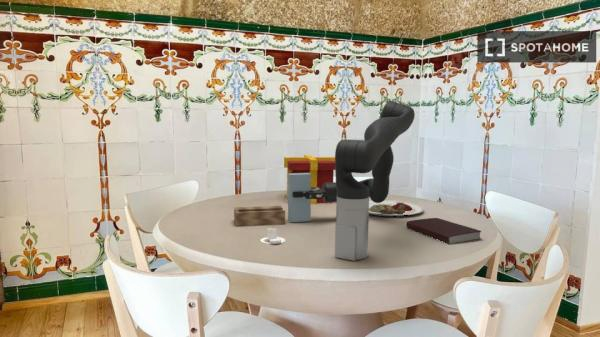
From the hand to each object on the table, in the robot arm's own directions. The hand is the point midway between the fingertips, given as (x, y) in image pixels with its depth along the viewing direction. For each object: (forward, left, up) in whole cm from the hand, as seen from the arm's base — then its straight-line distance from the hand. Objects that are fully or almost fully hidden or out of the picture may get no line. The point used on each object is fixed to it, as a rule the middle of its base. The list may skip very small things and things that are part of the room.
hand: (292, 193), depth 164 cm
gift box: (+42, +18, -11) cm, 47 cm away
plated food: (+40, -22, -11) cm, 47 cm away
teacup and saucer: (-27, -8, -11) cm, 31 cm away
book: (+15, -52, -11) cm, 55 cm away
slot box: (-8, +10, -11) cm, 16 cm away
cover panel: (+2, -2, -10) cm, 11 cm away
